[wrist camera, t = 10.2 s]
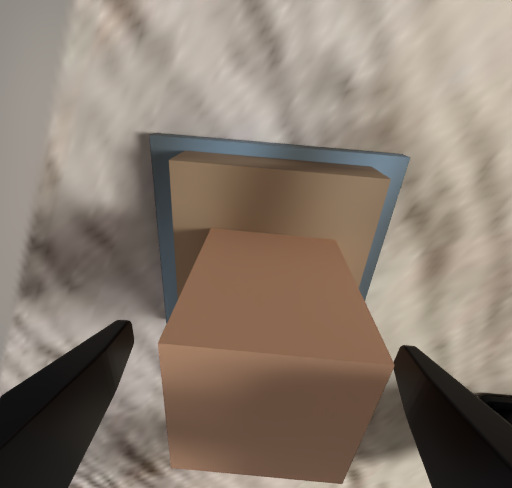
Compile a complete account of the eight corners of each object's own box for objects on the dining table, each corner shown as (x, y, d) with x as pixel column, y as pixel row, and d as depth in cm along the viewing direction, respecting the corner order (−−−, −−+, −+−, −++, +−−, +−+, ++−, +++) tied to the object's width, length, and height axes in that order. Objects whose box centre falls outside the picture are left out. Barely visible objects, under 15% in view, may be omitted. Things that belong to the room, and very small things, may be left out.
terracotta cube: (335, 239, 11) (394, 365, 6) (313, 332, 14) (342, 483, 8) (210, 227, 11) (158, 343, 6) (210, 322, 14) (171, 468, 8)
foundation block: (402, 154, 13) (437, 168, 10) (347, 336, 18) (360, 379, 15) (156, 133, 13) (125, 141, 10) (171, 320, 18) (153, 360, 15)
